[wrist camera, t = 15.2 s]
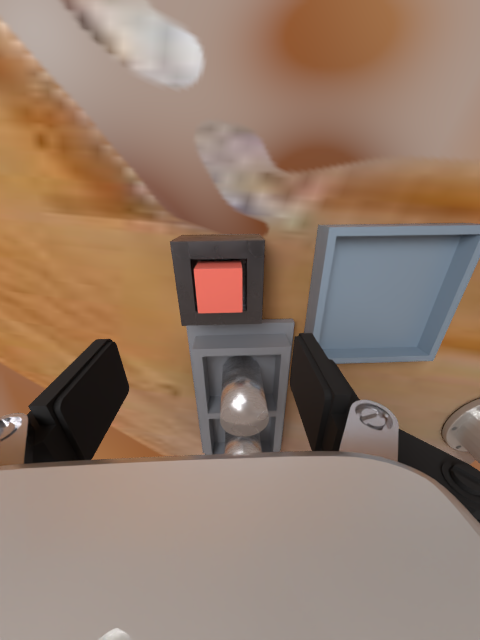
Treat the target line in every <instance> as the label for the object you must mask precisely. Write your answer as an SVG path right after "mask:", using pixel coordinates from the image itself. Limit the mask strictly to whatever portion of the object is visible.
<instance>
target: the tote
mask: <svg viewBox="0 0 480 640" xmlns="http://www.w3.org/2000/svg"><path fill="white" fill-rule="evenodd" d="M479 258H480V224H473V223H427V224H354V225H318V232H317V239H316V247H315V254H314V262H313V269H312V277H311V284H310V292H309V300H308V307H307V315H306V322H305V330H304V333H312V334H313V335H314V337H315V339H316V340H317V342H318V343H319V345H320V346H321V348H322V349H323V351H324V353H325V354H326V356H327V357H328V359H331V360H333V361H334V362H335V364H340V363H375V362H409V361H433V360H434V358H435V355H436V353H437V351H438V349H439V347H440V344H441V342H442V340H443V338H444V336H445V333H446V331H447V329H448V327H449V324H450V322H451V320H452V318H453V316H454V313H455V311H456V309H457V307H458V304H459V302H460V300H461V298H462V296H463V293H464V291H465V289H466V287H467V284H468V282H469V280H470V278H471V276H472V273H473V271H474V269H475V267H476V264H477V262H478V260H479Z"/></svg>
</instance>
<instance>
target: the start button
mask: <svg viewBox="0 0 480 640" xmlns="http://www.w3.org/2000/svg"><path fill="white" fill-rule="evenodd" d="M194 277H195V287H196V297H197V307H198V313H236V312H242V264H241V261H198V263H197V265H196V266H195V268H194Z"/></svg>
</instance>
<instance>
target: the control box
mask: <svg viewBox="0 0 480 640" xmlns="http://www.w3.org/2000/svg"><path fill="white" fill-rule="evenodd" d="M170 245H171V252H172V259H173V266H174V273H175V280H176V288H177V295H178V302H179V309H180V316H181V323H182V326H193V325H234V324H262V305H263V277H264V250H265V240H264V239H263V238H262V237H261V236H260V235H259V234H227V235H181V236H179V237H178V238H176V239H174V240H172V241H170ZM198 261H241V264H242V312H236V313H198V307H197V297H196V287H195V277H194V268H195V266H196V265H197V263H198Z"/></svg>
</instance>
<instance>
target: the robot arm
mask: <svg viewBox="0 0 480 640" xmlns="http://www.w3.org/2000/svg"><path fill="white" fill-rule="evenodd" d="M290 386H291V389H292V392H293V395H294V398H295V401H296V404H297V407H298V410H299V413H300V416H301V419H302V422H303V425H304V428H305V431H306V434H307V437H308V440H309V443H310V447H311V449H312V451H298V452H263V453H237V454H211V455H188V456H165V457H143V458H121V459H101V460H91V459H92V458H93V456H94V454H95V452H96V451H97V449H98V447H99V445H100V443H101V441H102V440H103V438H104V436H105V434H106V432H107V431H108V429H109V427H110V425H111V423H112V421H113V420H114V418H115V416H116V414H117V412H118V411H119V409H120V407H121V405H122V403H123V402H124V400H125V398H126V396H127V394H128V392H129V384H128V381H127V378H126V374H125V371H124V368H123V364H122V361H121V358H120V355H119V351H118V348H117V345H116V343H115V342H113V341H112V340H111V339H97V340H95V341H94V342H93V343H92V344H91V345H90V346H89V347H88V348H87V349H86V350H85V351H84V352H83V353H82V354H81V355H80V356H79V357H78V358H77V359H76V360H75V361H74V362H73V363H72V364H71V365H70V366H69V367H68V368H67V369H66V370H65V371H64V372H62V373H61V374H60V375H59V376H58V377H57V378H56V379H55V380H54V381H53V382H52V383H51V384H50V385H49V386H48V387H47V388H46V389H45V390H44V391H43V392H42V393H41V394H40V395H39V396H38V397H37V398H36V399H35V400H34V401H33V402H32V403H31V404H30V405H29V408H30V410H31V411H30V412H29V413H28V414H27V415H25V414H23V413H14V414H9V415H6V416H2V417H0V640H480V471H478V470H477V469H475V468H474V467H472V466H470V465H469V464H467V463H465V462H463V461H461V460H459V459H457V458H455V457H453V456H451V455H449V454H447V453H446V452H444V451H442V450H440V449H438V448H436V447H434V446H432V445H430V444H428V443H426V442H424V441H422V440H420V439H418V438H416V437H414V436H412V435H410V434H408V433H406V432H404V431H402V430H400V429H399V425H398V420H397V419H396V417H395V415H394V414H393V413H392V412H391V411H390V410H389V409H387V408H386V407H384V406H383V405H381V404H379V403H376V402H373V401H370V400H359V398H358V397H357V395H356V394H355V392H354V391H353V389H352V388H351V386H350V385H349V383H348V382H347V380H346V379H345V377H344V376H343V374H342V373H341V371H340V370H339V368H338V367H337V365H336V364H335V362H334V361H333V360H331V359H328V357H327V356H326V354H325V353H324V351H323V349H322V348H321V346H320V345H319V343H318V342H317V340H316V339H315V337H314V335H313V334H312V333H300V334H299V336H296V337H295V340H294V349H293V358H292V367H291V376H290ZM442 436H443V439H444V440H445V442H446V443H447V444H448V445H449V446H450V447H451V448H453V449H455V450H459V451H464V452H469V453H470V454H471V455H472V456H473V457H474V458H475V459H476V460H477V461H478V462H479V463H480V398H479V399H477V400H474V401H472V402H470V403H468V404H466V405H464V406H463V407H461V408H460V409H458V410H457V411H456V412H455V413H454V414H452V415H451V416H450V418H449V419H448V420H447V421H446V423H445V425H444V427H443V430H442Z"/></svg>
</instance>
